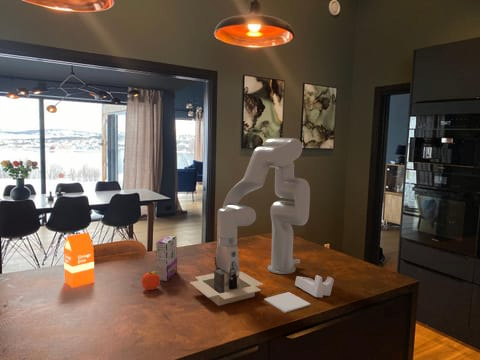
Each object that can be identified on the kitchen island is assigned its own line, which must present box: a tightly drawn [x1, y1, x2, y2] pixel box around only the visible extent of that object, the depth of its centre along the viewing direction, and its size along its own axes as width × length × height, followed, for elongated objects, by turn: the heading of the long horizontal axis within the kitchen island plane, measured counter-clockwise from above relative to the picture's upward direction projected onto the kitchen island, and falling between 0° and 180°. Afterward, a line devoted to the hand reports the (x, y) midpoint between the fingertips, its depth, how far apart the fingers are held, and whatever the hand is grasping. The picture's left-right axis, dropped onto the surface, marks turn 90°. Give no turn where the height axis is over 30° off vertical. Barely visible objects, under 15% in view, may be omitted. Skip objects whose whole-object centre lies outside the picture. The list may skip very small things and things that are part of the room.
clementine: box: [141, 270, 161, 291], centre depth 145 cm, size 8×7×7 cm
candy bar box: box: [155, 235, 178, 282], centre depth 158 cm, size 11×5×16 cm, turn 168°
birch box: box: [213, 269, 240, 294], centre depth 142 cm, size 8×5×9 cm, turn 122°
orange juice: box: [63, 232, 95, 289], centre depth 150 cm, size 8×9×20 cm
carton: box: [189, 271, 264, 306], centre depth 143 cm, size 24×24×4 cm
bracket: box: [294, 274, 335, 298], centre depth 147 cm, size 13×7×8 cm, turn 29°
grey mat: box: [263, 291, 311, 314], centre depth 136 cm, size 12×12×1 cm
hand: (226, 284), depth 142 cm, fingers open, 9 cm apart
